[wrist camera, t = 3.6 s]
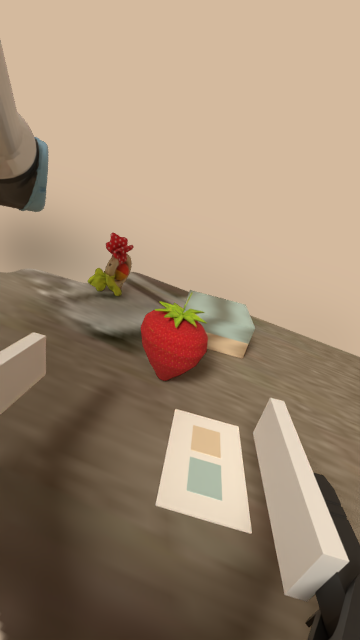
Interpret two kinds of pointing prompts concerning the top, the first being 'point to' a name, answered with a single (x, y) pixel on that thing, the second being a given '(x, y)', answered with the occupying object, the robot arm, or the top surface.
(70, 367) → the top surface
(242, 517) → the page
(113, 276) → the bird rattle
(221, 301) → the base brick
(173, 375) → the strawberry
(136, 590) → the top surface
